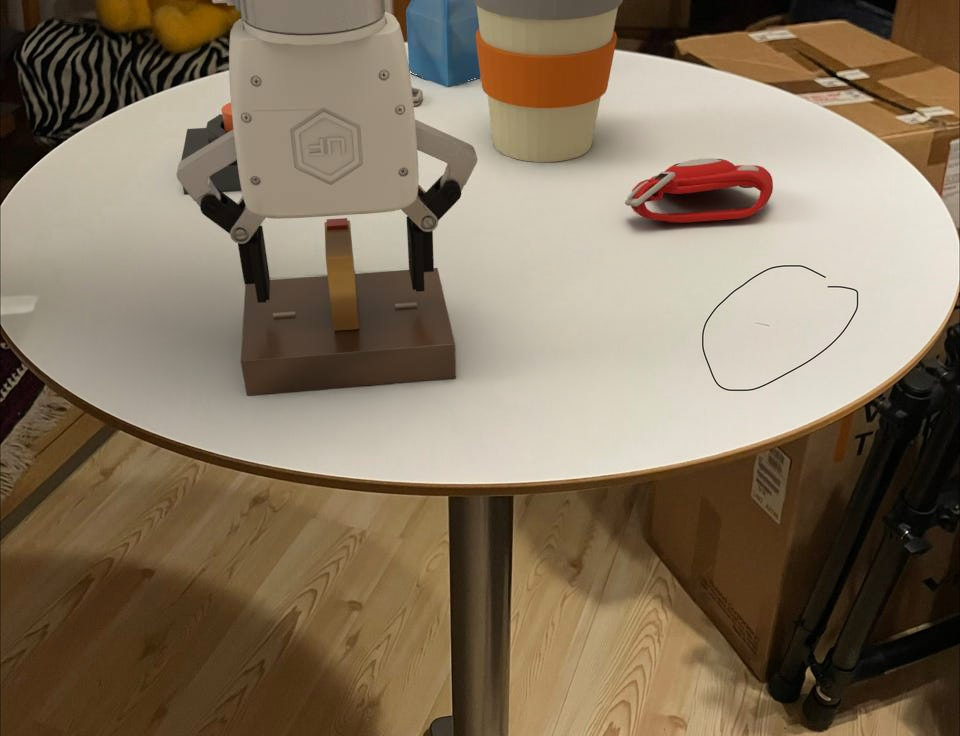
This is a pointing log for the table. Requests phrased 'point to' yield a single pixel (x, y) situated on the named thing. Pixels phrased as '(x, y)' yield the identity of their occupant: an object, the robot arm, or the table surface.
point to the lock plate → (346, 335)
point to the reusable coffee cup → (545, 73)
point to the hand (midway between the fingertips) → (341, 286)
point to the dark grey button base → (201, 137)
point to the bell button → (227, 117)
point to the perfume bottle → (443, 40)
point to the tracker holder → (701, 188)
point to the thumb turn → (341, 274)
